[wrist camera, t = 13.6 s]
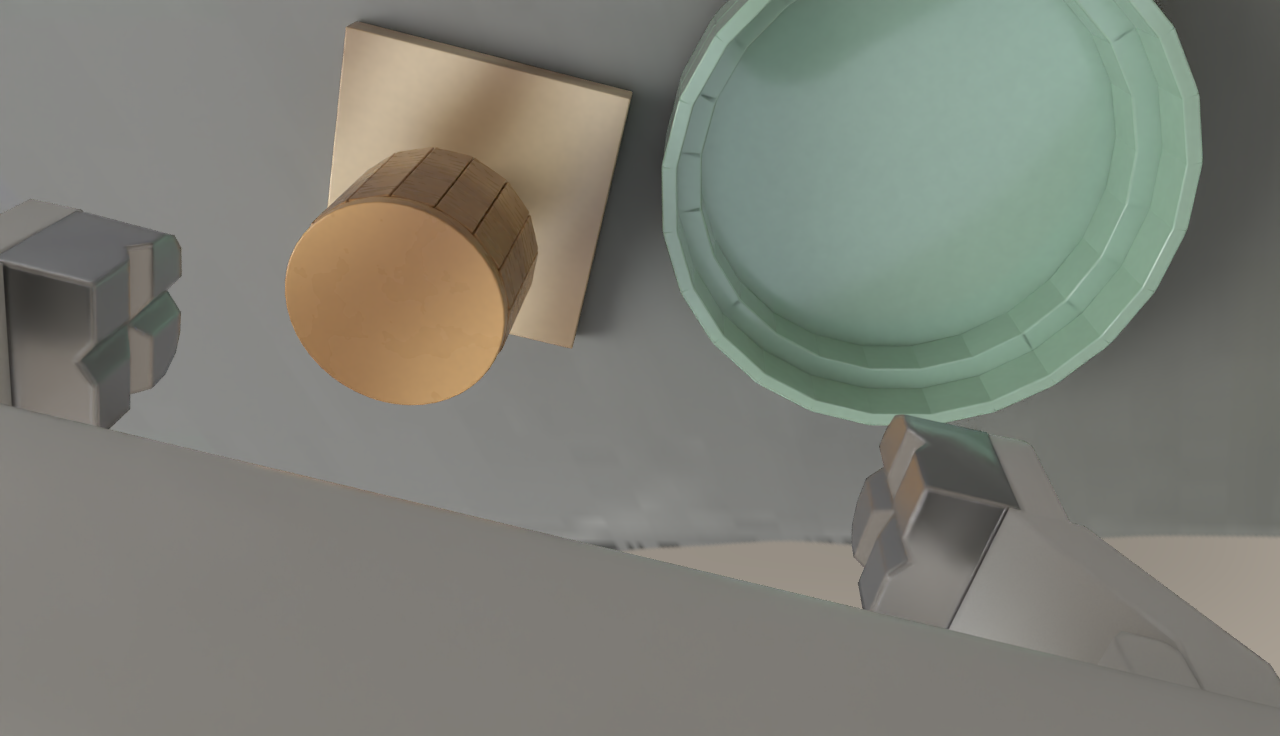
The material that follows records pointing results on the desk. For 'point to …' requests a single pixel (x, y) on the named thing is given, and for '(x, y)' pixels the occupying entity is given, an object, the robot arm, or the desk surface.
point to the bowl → (927, 193)
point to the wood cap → (413, 277)
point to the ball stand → (491, 146)
